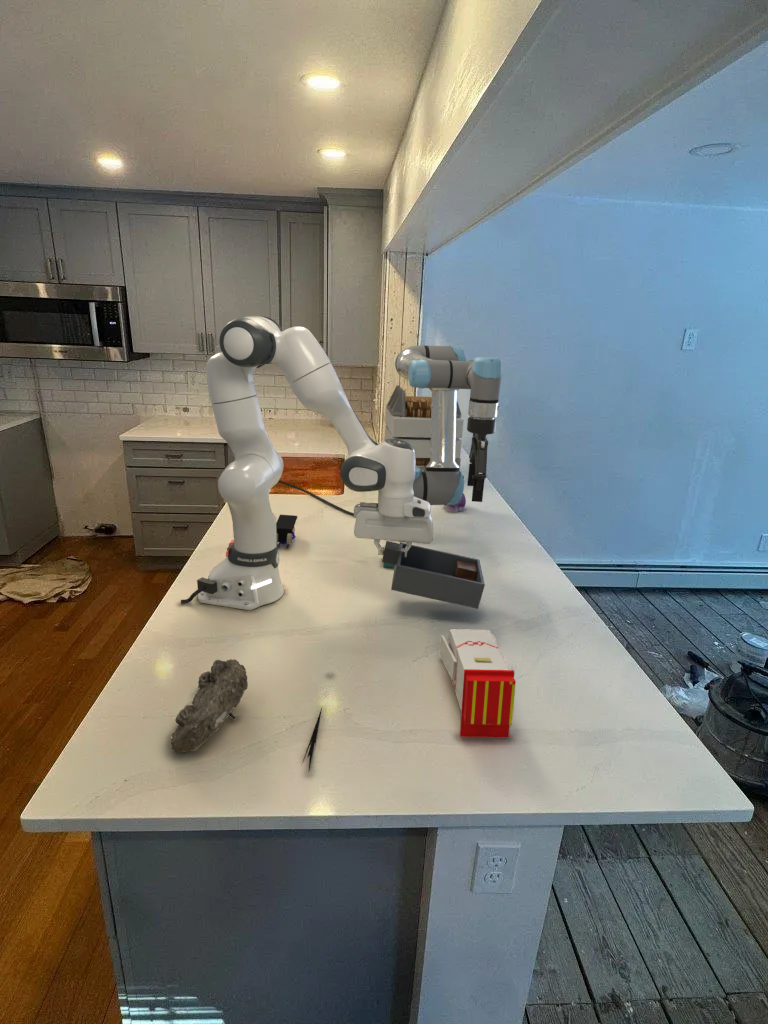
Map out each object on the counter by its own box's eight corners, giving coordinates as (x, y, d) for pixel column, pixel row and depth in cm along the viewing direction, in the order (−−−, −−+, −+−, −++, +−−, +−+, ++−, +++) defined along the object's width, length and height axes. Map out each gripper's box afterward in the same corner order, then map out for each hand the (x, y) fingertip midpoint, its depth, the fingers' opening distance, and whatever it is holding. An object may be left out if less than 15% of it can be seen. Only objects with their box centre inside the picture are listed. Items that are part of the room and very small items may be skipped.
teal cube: (383, 566, 174) (383, 551, 172) (384, 560, 179) (385, 545, 177) (399, 567, 174) (400, 553, 172) (400, 561, 178) (400, 546, 177)
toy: (489, 613, 130) (525, 677, 101) (485, 667, 133) (518, 744, 104) (437, 612, 130) (457, 676, 101) (434, 666, 133) (453, 743, 103)
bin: (376, 586, 140) (383, 556, 138) (381, 561, 155) (387, 533, 152) (478, 609, 140) (486, 578, 137) (473, 581, 155) (481, 553, 152)
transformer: (381, 463, 289) (385, 382, 275) (444, 464, 292) (450, 384, 279) (389, 482, 257) (393, 392, 243) (459, 483, 261) (467, 394, 247)
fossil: (195, 660, 117) (247, 628, 112) (227, 691, 120) (279, 661, 115) (146, 746, 98) (206, 711, 93) (185, 779, 101) (245, 748, 96)
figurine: (452, 514, 221) (455, 477, 216) (438, 506, 229) (441, 470, 224) (472, 511, 225) (475, 475, 220) (457, 503, 234) (460, 468, 229)
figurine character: (292, 555, 182) (298, 532, 196) (292, 534, 179) (298, 513, 192) (272, 554, 182) (279, 532, 195) (270, 533, 179) (278, 512, 192)
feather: (331, 679, 122) (336, 673, 122) (307, 777, 96) (313, 769, 95) (324, 675, 122) (329, 669, 121) (298, 772, 95) (304, 764, 95)
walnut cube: (453, 584, 149) (457, 567, 147) (452, 576, 154) (457, 559, 152) (471, 588, 149) (476, 571, 147) (470, 580, 154) (475, 563, 152)
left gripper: (352, 505, 139) (350, 557, 143) (436, 511, 138) (431, 563, 142) (355, 497, 145) (353, 547, 149) (435, 503, 144) (431, 553, 148)
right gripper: (503, 427, 139) (493, 509, 146) (490, 409, 162) (482, 480, 169) (472, 426, 139) (464, 507, 146) (464, 408, 162) (457, 479, 170)
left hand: (392, 555), depth 146 cm, fingers closed on bin, 4 cm apart
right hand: (474, 493), depth 158 cm, fingers open, 13 cm apart
